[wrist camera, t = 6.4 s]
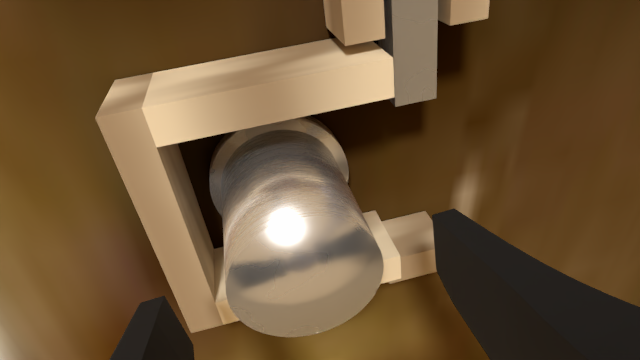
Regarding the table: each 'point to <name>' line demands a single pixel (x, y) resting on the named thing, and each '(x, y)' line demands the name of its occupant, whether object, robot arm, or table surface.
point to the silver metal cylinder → (292, 229)
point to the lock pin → (412, 48)
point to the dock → (246, 112)
